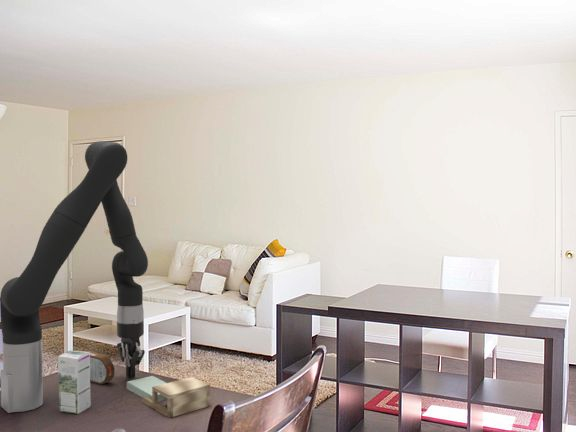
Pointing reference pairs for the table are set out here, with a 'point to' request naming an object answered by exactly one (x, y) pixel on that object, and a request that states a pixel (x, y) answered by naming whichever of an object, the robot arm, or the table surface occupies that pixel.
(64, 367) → the syrup box
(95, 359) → the tin
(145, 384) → the panel
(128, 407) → the table surface
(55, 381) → the table surface
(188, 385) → the beige forked block
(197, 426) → the table surface
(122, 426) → the table surface
